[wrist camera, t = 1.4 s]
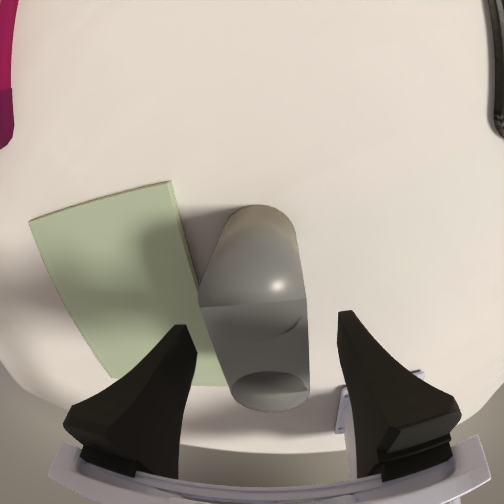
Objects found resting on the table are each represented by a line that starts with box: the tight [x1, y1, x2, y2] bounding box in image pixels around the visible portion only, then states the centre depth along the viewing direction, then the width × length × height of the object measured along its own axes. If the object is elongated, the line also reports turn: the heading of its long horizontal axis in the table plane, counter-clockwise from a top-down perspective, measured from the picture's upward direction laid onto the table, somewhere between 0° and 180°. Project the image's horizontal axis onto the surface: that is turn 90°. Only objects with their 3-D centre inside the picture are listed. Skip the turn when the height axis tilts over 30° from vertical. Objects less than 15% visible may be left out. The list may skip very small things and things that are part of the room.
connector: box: [198, 205, 310, 412], centre depth 14 cm, size 12×4×6 cm, turn 9°
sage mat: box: [28, 181, 228, 386], centre depth 18 cm, size 16×12×1 cm
